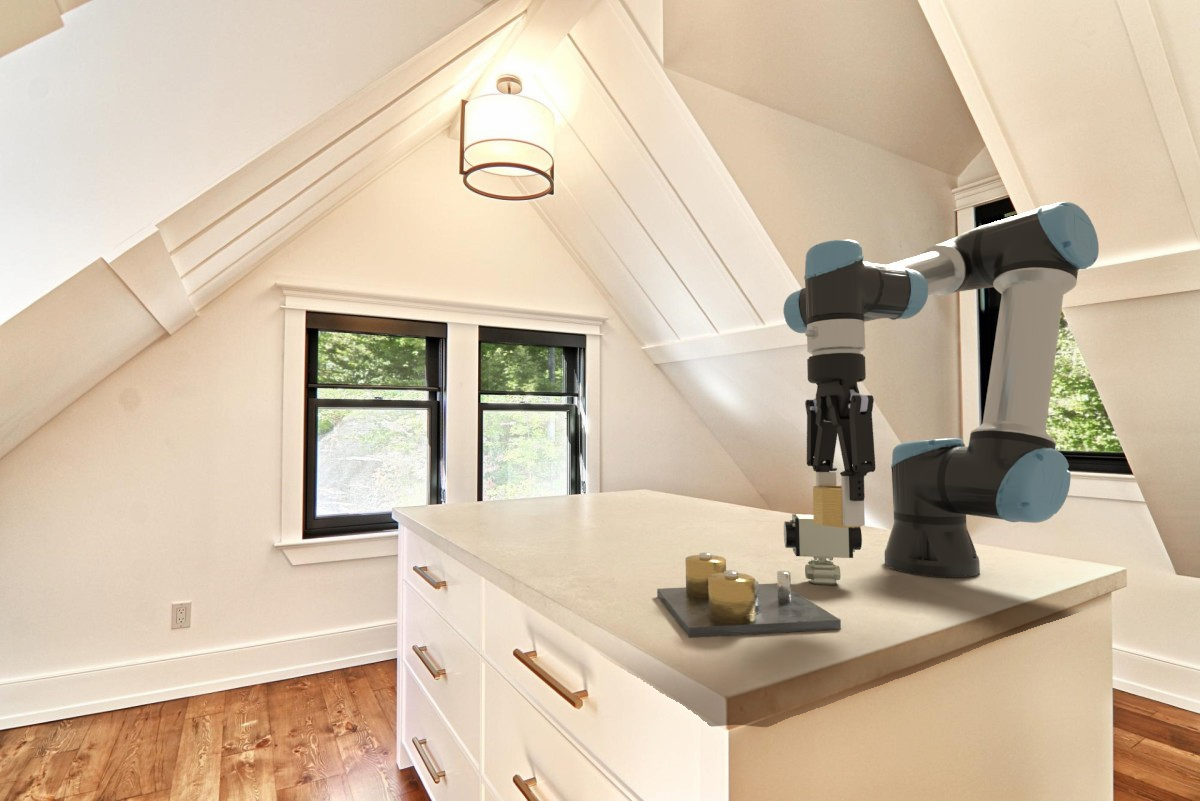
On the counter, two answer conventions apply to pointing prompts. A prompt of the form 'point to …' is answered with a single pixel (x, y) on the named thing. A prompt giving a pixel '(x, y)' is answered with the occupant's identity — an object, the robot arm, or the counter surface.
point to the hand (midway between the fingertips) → (839, 521)
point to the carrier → (739, 603)
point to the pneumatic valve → (821, 546)
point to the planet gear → (828, 505)
